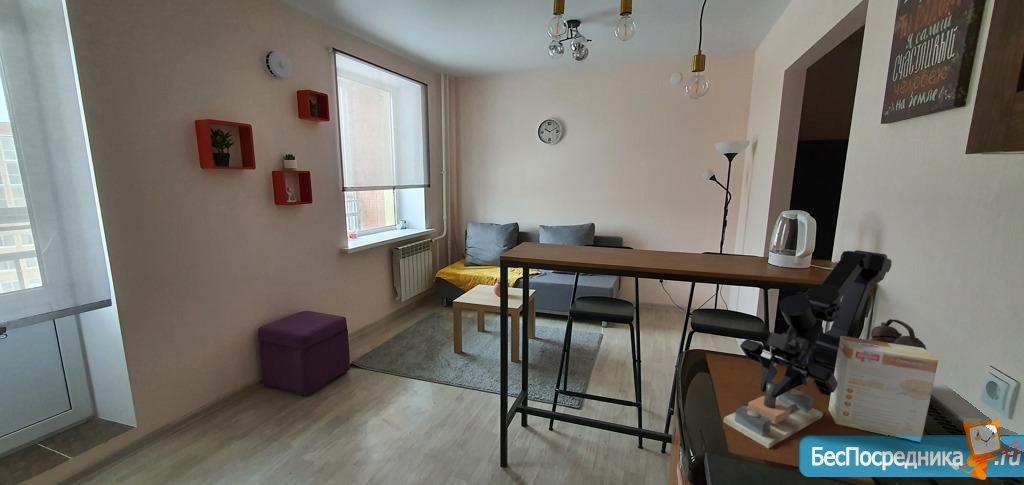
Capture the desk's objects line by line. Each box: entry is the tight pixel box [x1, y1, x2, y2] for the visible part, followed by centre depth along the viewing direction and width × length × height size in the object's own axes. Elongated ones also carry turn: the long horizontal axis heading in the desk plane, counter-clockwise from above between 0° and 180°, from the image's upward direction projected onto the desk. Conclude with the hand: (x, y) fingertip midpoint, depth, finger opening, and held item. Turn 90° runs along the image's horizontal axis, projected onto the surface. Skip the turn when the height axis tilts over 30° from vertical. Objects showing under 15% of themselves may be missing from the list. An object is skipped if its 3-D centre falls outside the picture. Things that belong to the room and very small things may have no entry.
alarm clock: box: [870, 318, 927, 350], centre depth 103 cm, size 15×7×20 cm, turn 168°
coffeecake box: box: [828, 336, 939, 438], centre depth 89 cm, size 15×7×20 cm, turn 64°
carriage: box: [748, 381, 790, 424], centre depth 90 cm, size 6×6×7 cm
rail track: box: [723, 388, 824, 449], centre depth 92 cm, size 23×10×4 cm, turn 119°
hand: (767, 394), depth 89 cm, fingers closed on carriage, 2 cm apart
